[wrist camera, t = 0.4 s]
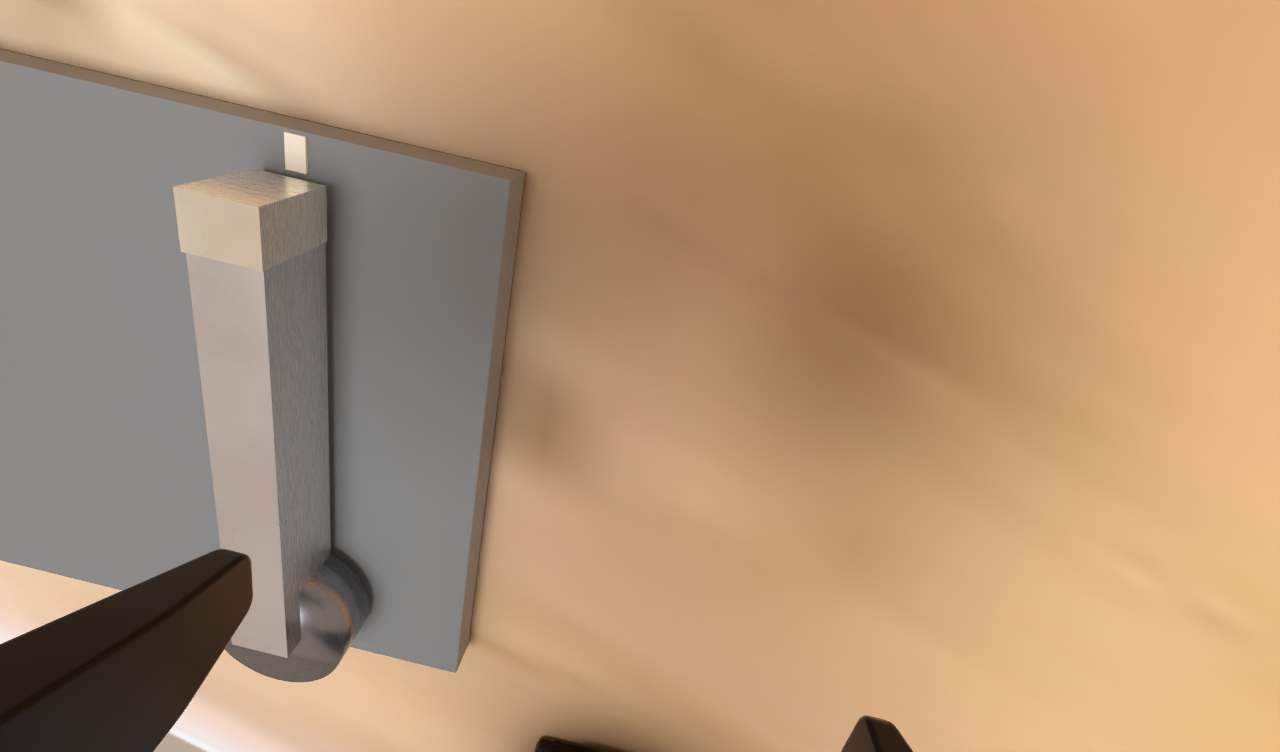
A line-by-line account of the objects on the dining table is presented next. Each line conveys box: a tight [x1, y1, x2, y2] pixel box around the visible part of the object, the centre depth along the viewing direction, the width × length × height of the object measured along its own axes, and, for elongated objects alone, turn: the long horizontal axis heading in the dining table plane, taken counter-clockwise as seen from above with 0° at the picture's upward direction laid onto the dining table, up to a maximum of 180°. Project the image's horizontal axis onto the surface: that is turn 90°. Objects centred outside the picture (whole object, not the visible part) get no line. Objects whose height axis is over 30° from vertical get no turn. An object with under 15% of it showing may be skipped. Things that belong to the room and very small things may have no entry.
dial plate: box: [0, 49, 525, 673], centre depth 23 cm, size 20×20×2 cm
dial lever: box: [173, 168, 369, 682], centre depth 21 cm, size 18×5×3 cm, turn 168°
